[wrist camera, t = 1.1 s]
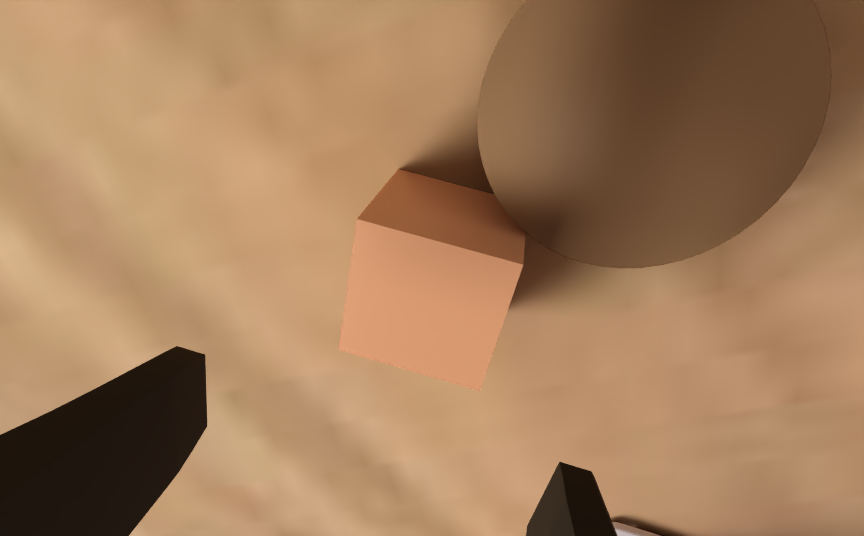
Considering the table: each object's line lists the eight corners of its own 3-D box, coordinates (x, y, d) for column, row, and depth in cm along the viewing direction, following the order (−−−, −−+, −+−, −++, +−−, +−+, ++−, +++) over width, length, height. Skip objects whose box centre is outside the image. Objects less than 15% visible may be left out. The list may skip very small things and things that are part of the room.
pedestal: (841, -19, 13) (917, -23, 10) (694, 253, 17) (722, 300, 14) (532, -90, 13) (530, -110, 11) (461, 191, 17) (447, 225, 15)
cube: (528, 202, 17) (523, 264, 13) (492, 310, 19) (480, 391, 15) (399, 168, 17) (357, 218, 13) (379, 278, 19) (338, 349, 16)
